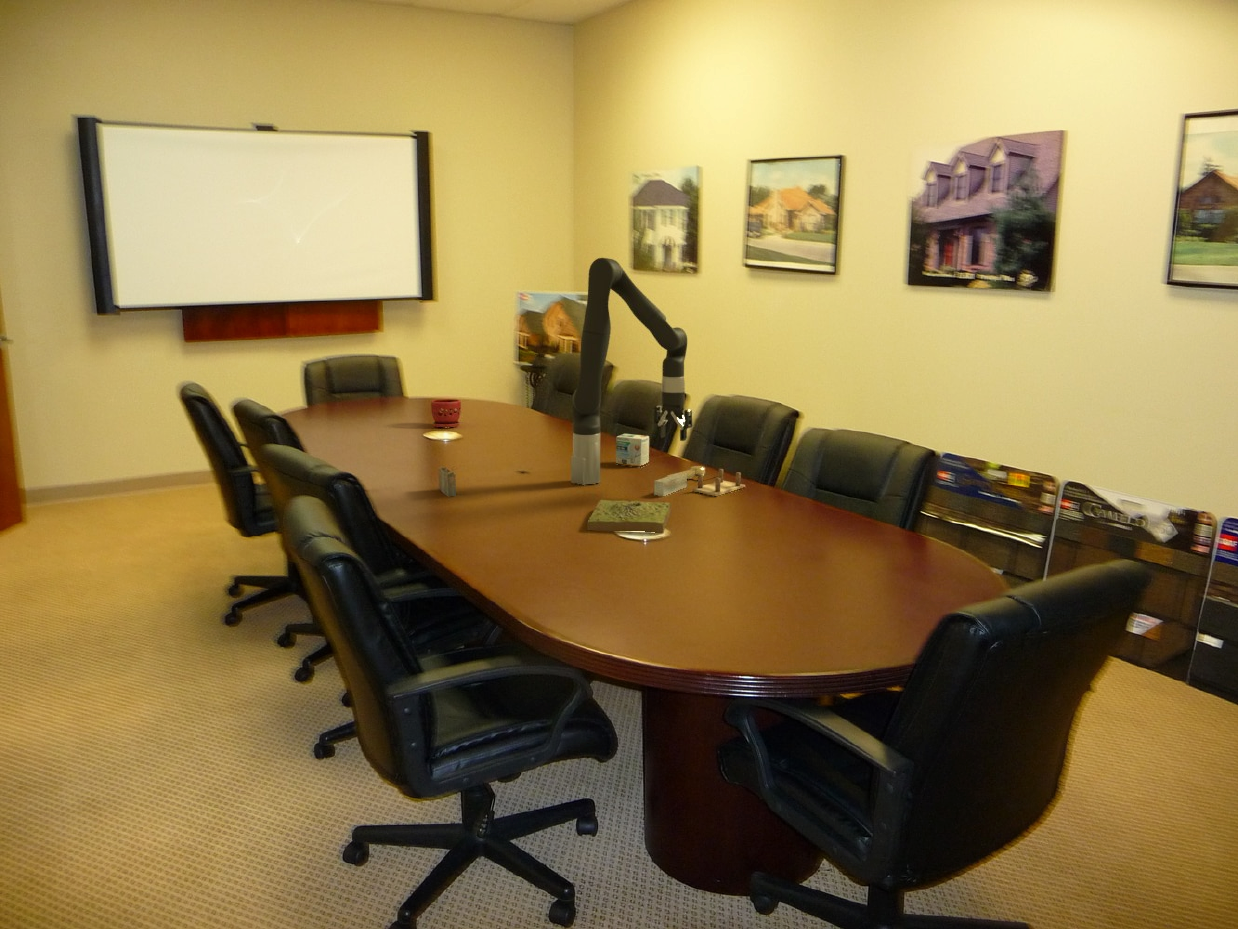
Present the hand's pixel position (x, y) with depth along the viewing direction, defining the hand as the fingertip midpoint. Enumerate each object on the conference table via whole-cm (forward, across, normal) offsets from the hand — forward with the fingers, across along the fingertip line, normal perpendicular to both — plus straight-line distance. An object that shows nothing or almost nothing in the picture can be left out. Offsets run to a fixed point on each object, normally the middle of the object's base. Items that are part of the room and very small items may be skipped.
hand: (672, 438), depth 319 cm
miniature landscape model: (+18, +15, -38) cm, 44 cm away
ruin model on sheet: (+17, -51, -53) cm, 76 cm away
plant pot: (+16, -146, +22) cm, 148 cm away
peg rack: (+17, +12, +10) cm, 23 cm away
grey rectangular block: (+17, +2, -3) cm, 18 cm away
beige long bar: (+17, -5, +14) cm, 22 cm away
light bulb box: (+17, -35, +20) cm, 44 cm away
